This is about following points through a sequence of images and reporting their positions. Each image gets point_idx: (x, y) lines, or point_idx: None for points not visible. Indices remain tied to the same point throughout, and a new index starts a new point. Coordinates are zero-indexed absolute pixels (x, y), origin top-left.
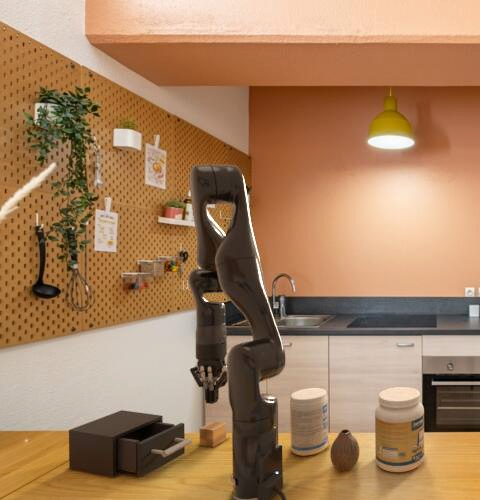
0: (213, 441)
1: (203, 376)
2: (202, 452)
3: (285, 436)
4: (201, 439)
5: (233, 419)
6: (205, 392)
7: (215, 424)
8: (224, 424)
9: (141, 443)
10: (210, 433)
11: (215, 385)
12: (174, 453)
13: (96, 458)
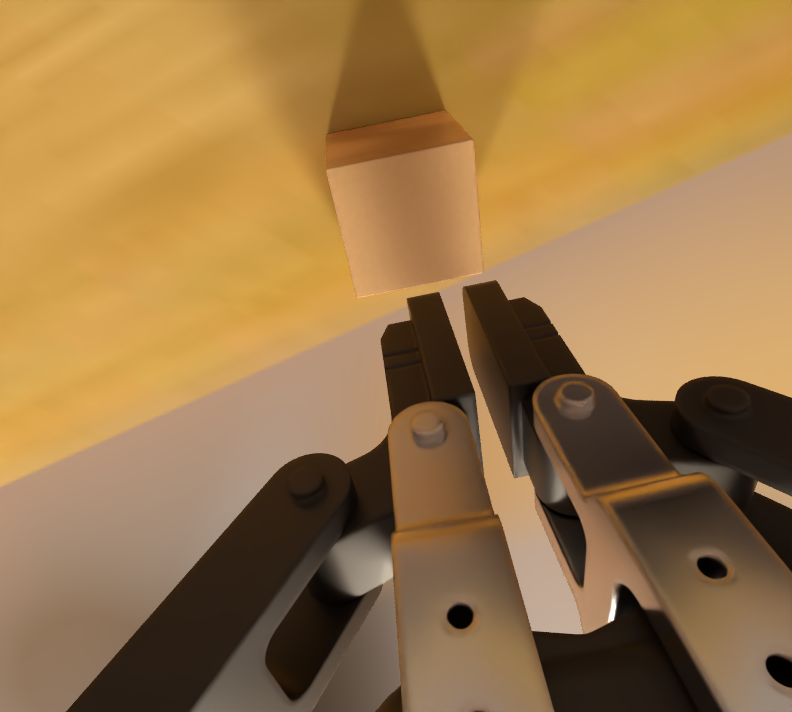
0: (326, 147)
1: (719, 602)
2: (320, 41)
3: (82, 415)
4: (436, 123)
5: None
6: (563, 362)
7: (413, 248)
8: (353, 282)
9: None
10: (350, 155)
11: (338, 502)
12: None
13: None
